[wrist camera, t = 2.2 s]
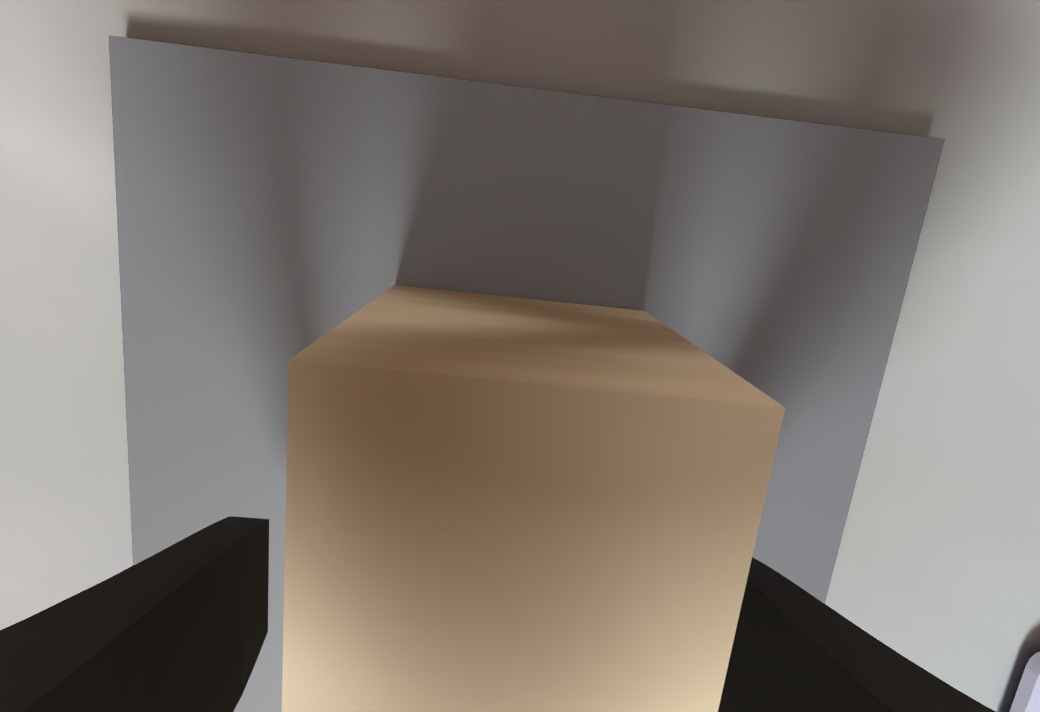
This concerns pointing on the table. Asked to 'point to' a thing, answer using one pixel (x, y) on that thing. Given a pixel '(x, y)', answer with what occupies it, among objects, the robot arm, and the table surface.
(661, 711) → the birch block
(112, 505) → the table surface
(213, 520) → the gray tile
